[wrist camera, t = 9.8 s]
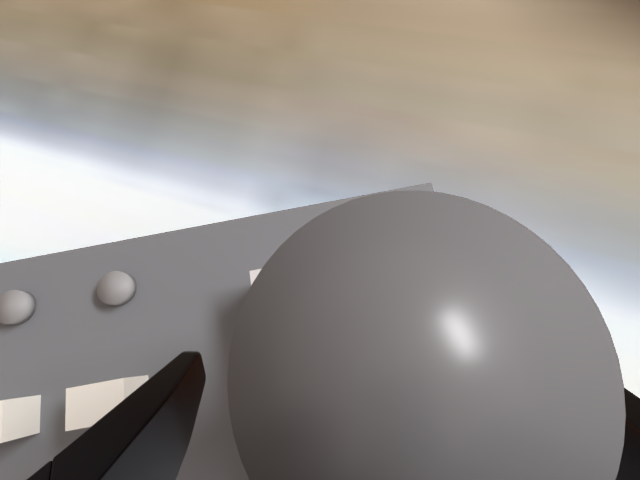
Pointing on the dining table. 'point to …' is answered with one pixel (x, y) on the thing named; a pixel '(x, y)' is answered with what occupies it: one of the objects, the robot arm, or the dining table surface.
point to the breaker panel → (129, 333)
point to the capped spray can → (422, 352)
